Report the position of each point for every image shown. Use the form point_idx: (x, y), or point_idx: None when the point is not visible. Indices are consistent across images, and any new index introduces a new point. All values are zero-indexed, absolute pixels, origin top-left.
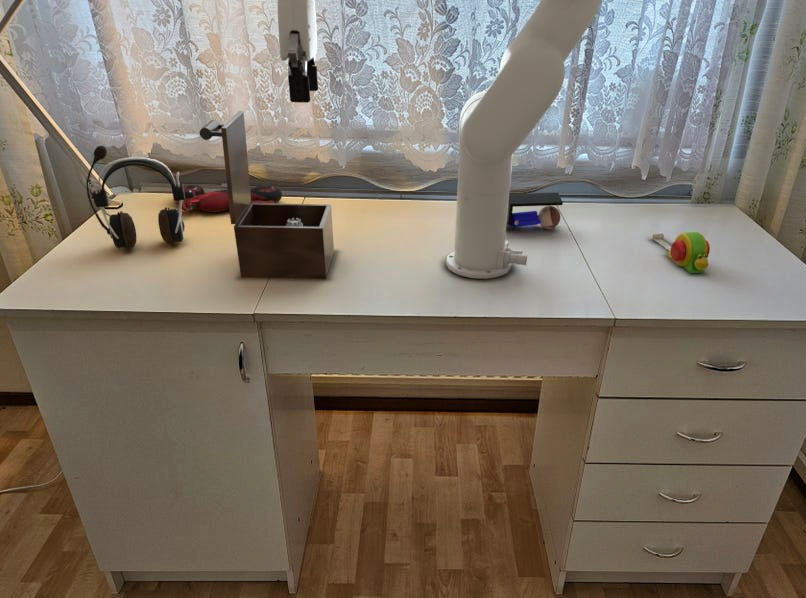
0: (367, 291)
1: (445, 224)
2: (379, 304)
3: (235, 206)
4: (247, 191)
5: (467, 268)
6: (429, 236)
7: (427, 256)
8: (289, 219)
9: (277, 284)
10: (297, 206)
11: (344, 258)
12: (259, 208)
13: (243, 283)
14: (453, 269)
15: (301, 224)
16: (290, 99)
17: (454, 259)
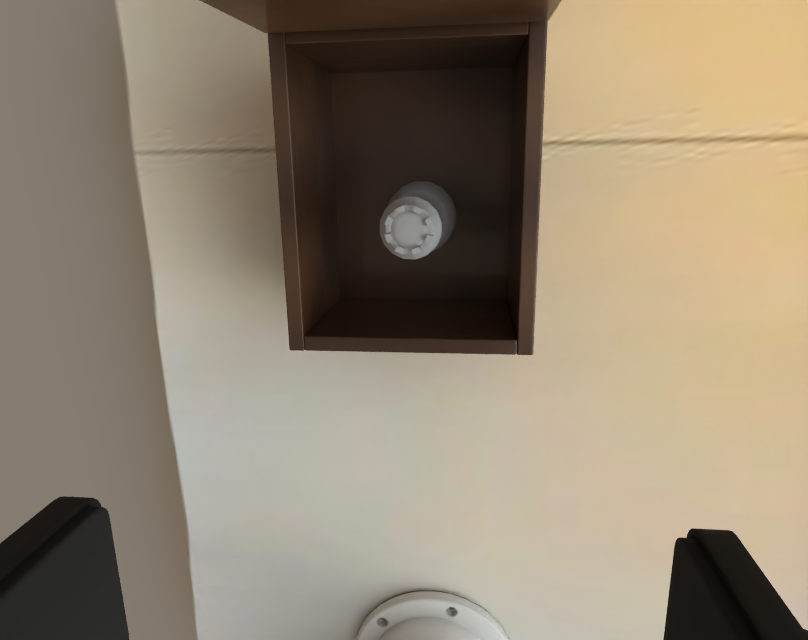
0: (273, 410)
1: None
2: (212, 438)
3: (265, 20)
4: (497, 11)
5: (380, 638)
6: (634, 565)
7: (489, 551)
8: (417, 212)
9: None
10: (521, 228)
11: None
12: (525, 66)
13: None
14: (384, 606)
15: (405, 255)
16: (55, 504)
17: (429, 618)
